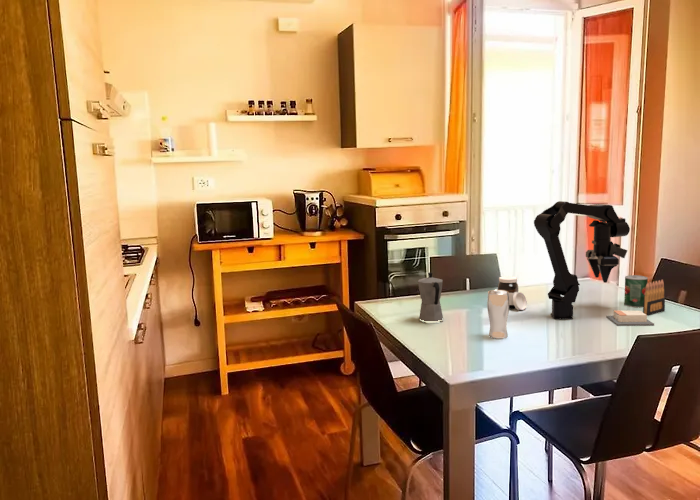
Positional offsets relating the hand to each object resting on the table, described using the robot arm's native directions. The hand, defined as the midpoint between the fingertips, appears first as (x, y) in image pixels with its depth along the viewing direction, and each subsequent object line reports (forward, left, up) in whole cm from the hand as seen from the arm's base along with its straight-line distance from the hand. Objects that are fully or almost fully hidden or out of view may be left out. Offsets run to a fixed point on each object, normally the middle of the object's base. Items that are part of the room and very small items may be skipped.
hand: (600, 279), depth 210 cm
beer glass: (-42, -31, -12) cm, 54 cm away
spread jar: (-31, +7, -12) cm, 34 cm away
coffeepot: (-63, -12, -12) cm, 65 cm away
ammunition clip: (+18, -3, -12) cm, 22 cm away
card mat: (+5, -14, -12) cm, 19 cm away
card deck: (+5, -14, -11) cm, 19 cm away
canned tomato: (+16, +9, -12) cm, 22 cm away
